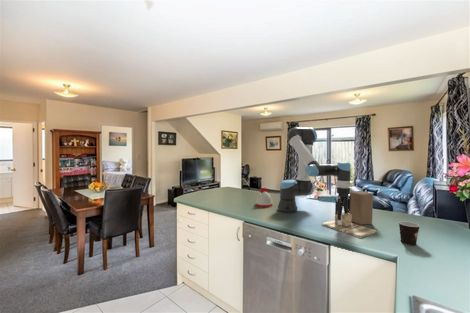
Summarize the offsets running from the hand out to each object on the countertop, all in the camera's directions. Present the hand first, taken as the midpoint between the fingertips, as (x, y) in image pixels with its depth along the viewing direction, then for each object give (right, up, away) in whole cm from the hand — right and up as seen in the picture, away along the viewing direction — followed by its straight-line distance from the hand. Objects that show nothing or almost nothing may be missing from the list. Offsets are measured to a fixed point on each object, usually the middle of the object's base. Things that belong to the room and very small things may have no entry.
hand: (342, 224), depth 145 cm
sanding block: (0, 0, 0) cm, 0 cm away
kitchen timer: (-42, +1, +53) cm, 68 cm away
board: (+2, -2, -3) cm, 4 cm away
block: (+16, -2, +9) cm, 18 cm away
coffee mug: (+22, -3, -24) cm, 32 cm away
